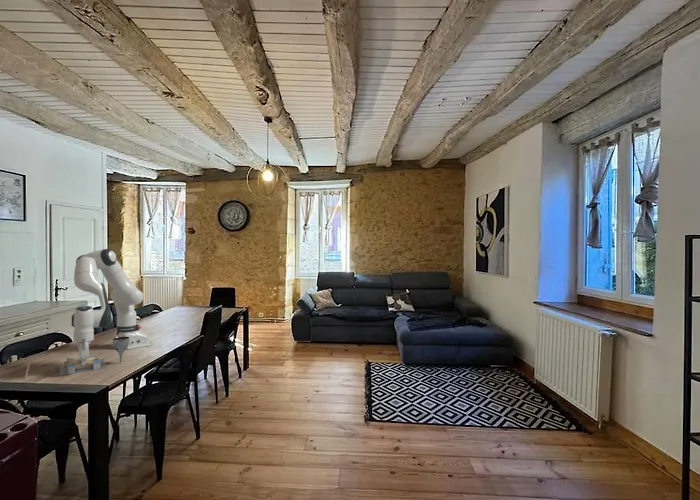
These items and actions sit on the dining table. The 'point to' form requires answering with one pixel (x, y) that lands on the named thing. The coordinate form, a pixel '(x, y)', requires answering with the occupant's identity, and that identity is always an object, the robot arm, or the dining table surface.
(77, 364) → the bar
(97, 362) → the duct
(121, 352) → the grey funnel
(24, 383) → the dining table surface
